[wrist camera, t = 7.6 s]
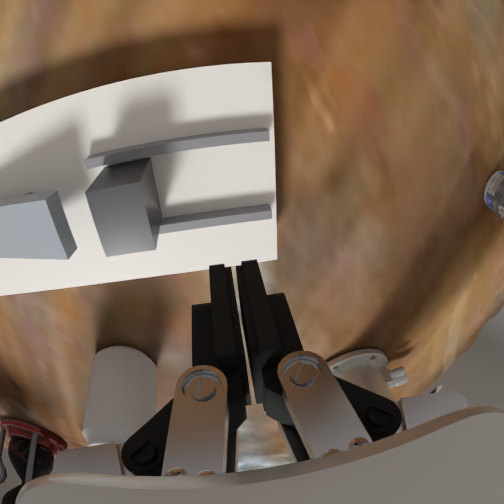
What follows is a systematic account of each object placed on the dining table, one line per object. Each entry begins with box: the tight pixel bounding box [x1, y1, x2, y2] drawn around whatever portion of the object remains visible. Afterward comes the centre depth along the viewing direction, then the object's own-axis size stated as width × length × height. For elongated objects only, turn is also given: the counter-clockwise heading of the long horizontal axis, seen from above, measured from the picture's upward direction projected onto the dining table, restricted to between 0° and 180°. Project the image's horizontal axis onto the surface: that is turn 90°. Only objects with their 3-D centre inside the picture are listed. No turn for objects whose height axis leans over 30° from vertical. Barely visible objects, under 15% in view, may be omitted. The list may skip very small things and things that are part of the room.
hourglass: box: [0, 418, 67, 504], centre depth 34 cm, size 16×16×25 cm
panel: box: [0, 62, 277, 296], centre depth 18 cm, size 30×14×5 cm, turn 93°
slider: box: [85, 158, 162, 257], centre depth 17 cm, size 3×4×4 cm
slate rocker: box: [0, 190, 77, 260], centre depth 16 cm, size 8×4×1 cm, turn 93°
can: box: [82, 346, 157, 447], centre depth 27 cm, size 8×8×12 cm
